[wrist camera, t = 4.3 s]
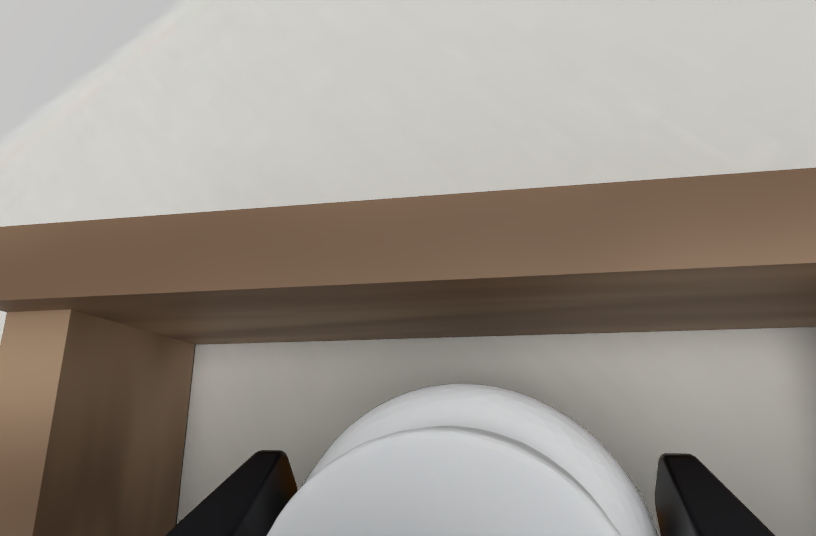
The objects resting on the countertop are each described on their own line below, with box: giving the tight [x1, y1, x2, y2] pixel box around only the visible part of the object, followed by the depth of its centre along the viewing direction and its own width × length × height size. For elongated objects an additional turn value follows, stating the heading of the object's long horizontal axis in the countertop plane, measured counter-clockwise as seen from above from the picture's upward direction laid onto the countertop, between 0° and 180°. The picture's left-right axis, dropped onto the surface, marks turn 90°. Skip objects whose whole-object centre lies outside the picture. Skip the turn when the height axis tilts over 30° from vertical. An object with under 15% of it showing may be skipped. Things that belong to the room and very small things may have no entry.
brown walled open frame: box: [0, 168, 816, 536], centre depth 12 cm, size 11×20×6 cm, turn 90°
